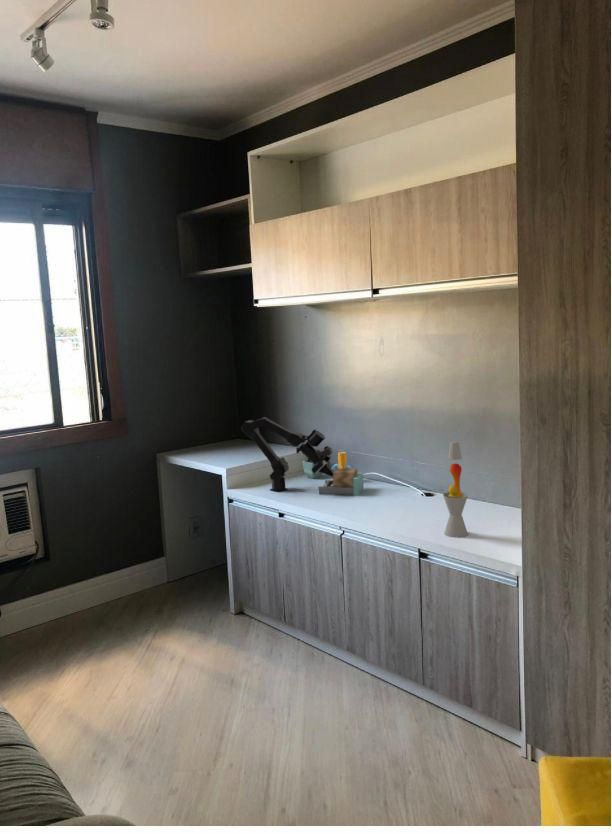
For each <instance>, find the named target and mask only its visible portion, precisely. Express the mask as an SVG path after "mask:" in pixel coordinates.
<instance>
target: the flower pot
mask: <svg viewBox="0 0 612 834" xmlns="http://www.w3.org/2000/svg"><path fill="white" fill-rule="evenodd" d="M313 466H314V464H313V463H312V462H311V461H308V459H307V460H302V467H303V471H304V474H305V475H306V477H307V478H310V479H313V478H314V479H318V478H321V477H322V476H323V473H321V472H318V471H319V470H320V469H319V470H318V471H317V472H316V473H315V474H314V473H313V472H312V467H313Z"/></svg>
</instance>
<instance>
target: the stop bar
mask: <svg viewBox="0 0 612 834" xmlns="http://www.w3.org/2000/svg"><path fill="white" fill-rule="evenodd" d="M353 486H354V495H353V496H355V497H358V496H359V495H360V494H361V492H362V491H363V490H364V472H361V471H359V472H357V475H356V476H355V478H354V479H353Z"/></svg>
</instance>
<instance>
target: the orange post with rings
mask: <svg viewBox="0 0 612 834" xmlns="http://www.w3.org/2000/svg"><path fill="white" fill-rule="evenodd" d="M337 454H338V455H337V459H338V461H337V462H338V463H335V464H334V465H332V467H331V469H332V471H335V470H336V469H337V468H355V467H354V464H352V463H349V464H347V452H346V451H340V452H337Z"/></svg>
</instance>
